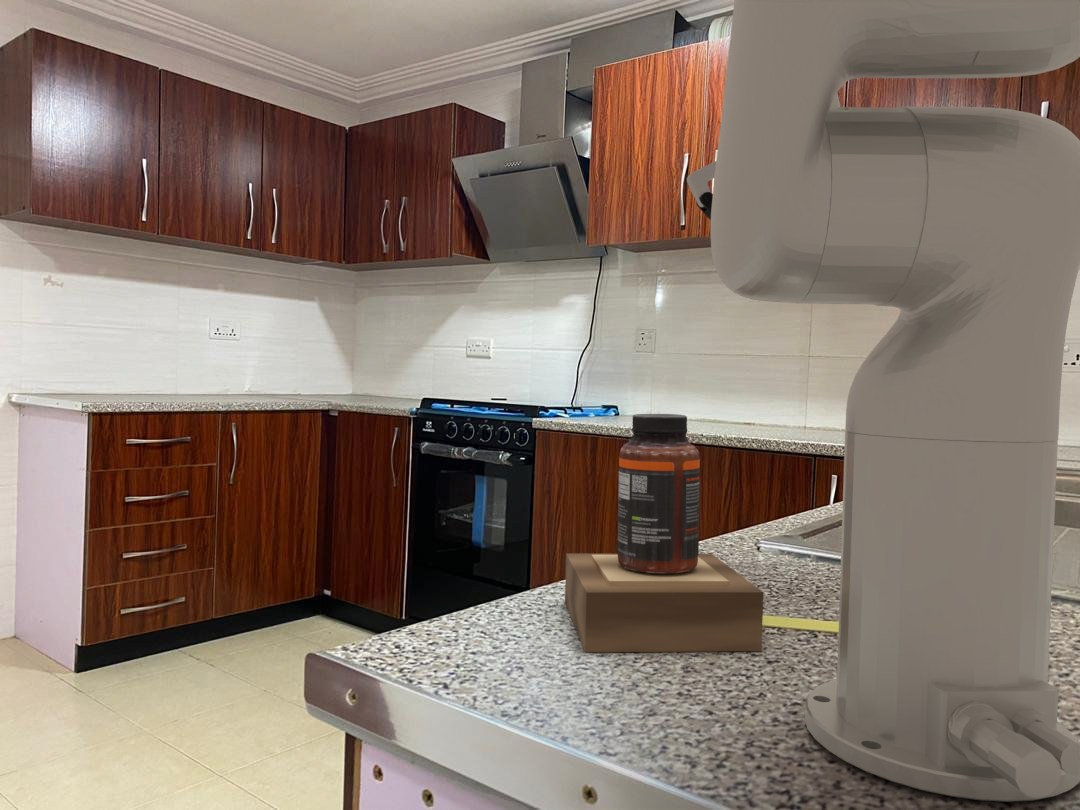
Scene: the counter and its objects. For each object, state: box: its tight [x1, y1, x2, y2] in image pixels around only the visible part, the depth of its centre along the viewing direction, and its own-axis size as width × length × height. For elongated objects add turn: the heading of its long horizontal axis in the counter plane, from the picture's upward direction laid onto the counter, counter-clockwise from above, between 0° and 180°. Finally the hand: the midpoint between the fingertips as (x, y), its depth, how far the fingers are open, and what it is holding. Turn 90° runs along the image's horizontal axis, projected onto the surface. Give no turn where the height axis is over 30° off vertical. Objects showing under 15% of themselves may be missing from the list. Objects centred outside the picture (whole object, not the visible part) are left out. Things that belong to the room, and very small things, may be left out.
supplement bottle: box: [617, 413, 701, 575], centre depth 60 cm, size 6×6×11 cm
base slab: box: [564, 552, 764, 653], centre depth 61 cm, size 12×12×4 cm
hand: (778, 270), depth 75 cm, fingers open, 9 cm apart
